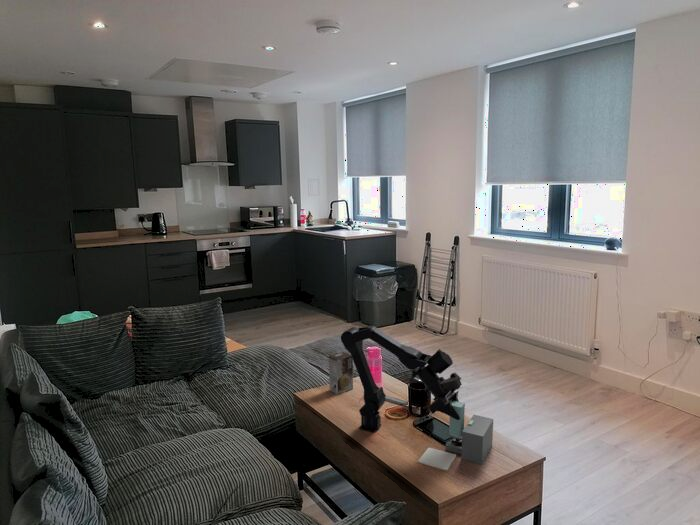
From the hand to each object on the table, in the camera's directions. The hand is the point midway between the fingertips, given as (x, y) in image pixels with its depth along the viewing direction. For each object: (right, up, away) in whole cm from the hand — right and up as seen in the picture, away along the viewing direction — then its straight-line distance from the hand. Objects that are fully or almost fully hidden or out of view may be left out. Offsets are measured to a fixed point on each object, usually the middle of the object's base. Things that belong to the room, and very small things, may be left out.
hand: (460, 416), depth 173 cm
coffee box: (-43, -4, +52) cm, 67 cm away
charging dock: (+2, -12, 0) cm, 12 cm away
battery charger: (-10, -6, +37) cm, 39 cm away
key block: (-1, -6, +2) cm, 7 cm away
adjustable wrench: (-22, -6, +40) cm, 46 cm away
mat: (-9, -13, -6) cm, 17 cm away
